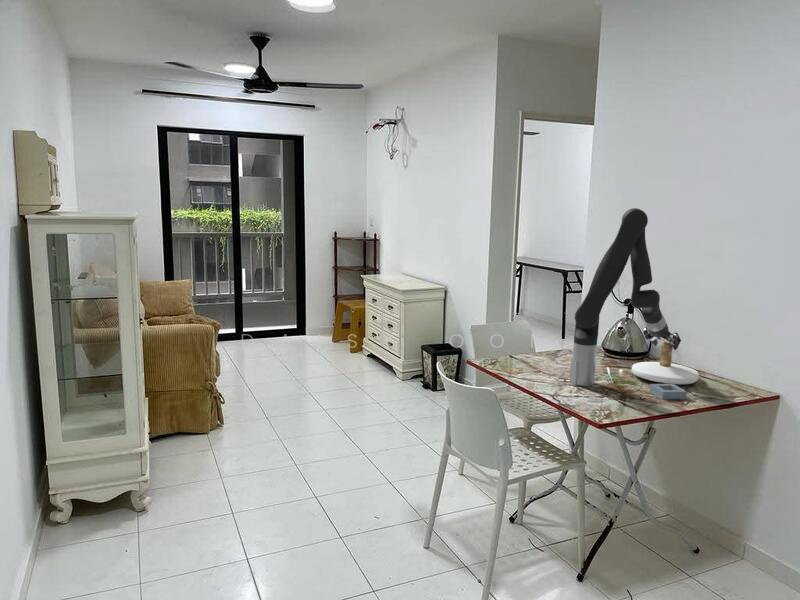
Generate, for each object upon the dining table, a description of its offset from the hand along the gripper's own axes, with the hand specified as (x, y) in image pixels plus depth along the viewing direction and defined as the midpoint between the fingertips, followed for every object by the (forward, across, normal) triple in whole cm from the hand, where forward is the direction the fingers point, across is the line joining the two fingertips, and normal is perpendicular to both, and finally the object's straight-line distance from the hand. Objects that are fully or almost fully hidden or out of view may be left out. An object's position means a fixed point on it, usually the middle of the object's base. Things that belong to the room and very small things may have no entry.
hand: (665, 346), depth 249 cm
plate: (+10, -1, +11) cm, 15 cm away
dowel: (+6, -1, +6) cm, 8 cm away
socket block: (-6, -12, +25) cm, 28 cm away
